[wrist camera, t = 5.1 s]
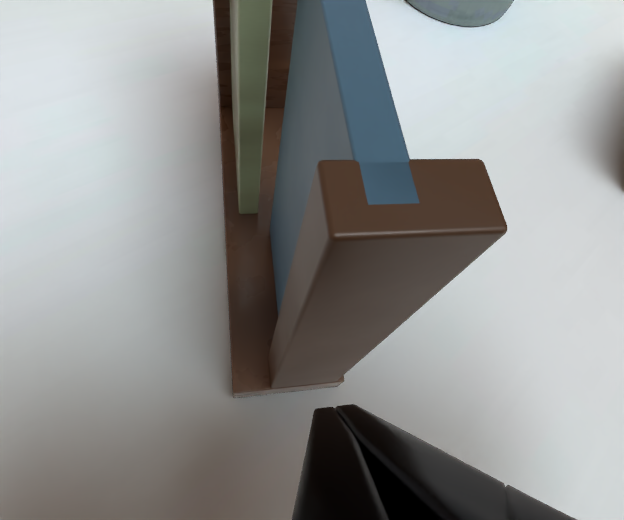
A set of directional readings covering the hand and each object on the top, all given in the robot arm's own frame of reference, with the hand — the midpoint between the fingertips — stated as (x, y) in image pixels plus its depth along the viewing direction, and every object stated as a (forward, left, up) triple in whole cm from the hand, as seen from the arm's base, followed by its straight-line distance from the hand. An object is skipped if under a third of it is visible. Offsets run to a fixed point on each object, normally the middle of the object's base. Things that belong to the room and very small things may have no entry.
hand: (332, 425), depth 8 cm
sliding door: (+5, +2, -6) cm, 8 cm away
